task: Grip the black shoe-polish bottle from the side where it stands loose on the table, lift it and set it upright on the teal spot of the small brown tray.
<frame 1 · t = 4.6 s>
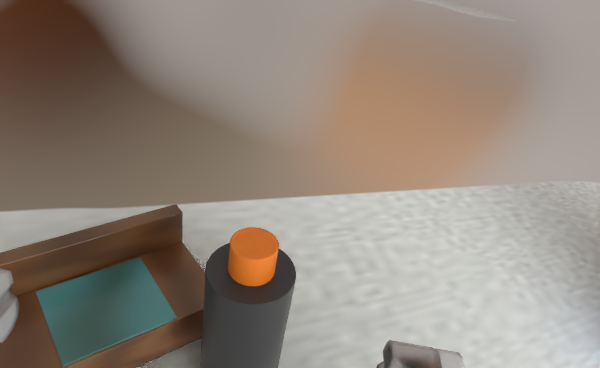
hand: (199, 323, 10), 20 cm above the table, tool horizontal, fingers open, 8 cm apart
brown tray: (106, 328, 33), on the table
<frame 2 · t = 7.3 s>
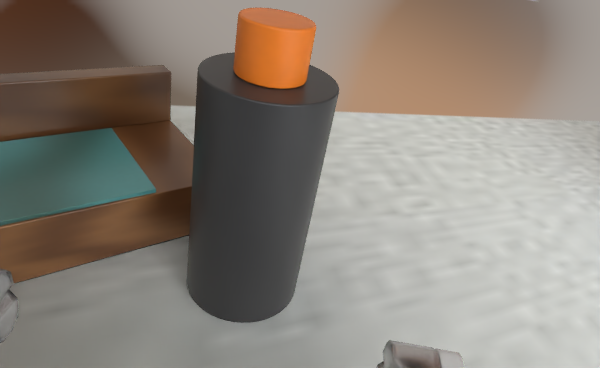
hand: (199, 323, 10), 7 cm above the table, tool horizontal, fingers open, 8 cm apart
polish bottle: (241, 280, 22), on the table
brown tray: (58, 215, 23), on the table
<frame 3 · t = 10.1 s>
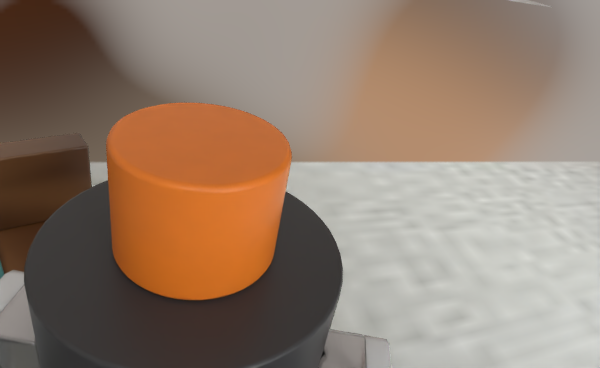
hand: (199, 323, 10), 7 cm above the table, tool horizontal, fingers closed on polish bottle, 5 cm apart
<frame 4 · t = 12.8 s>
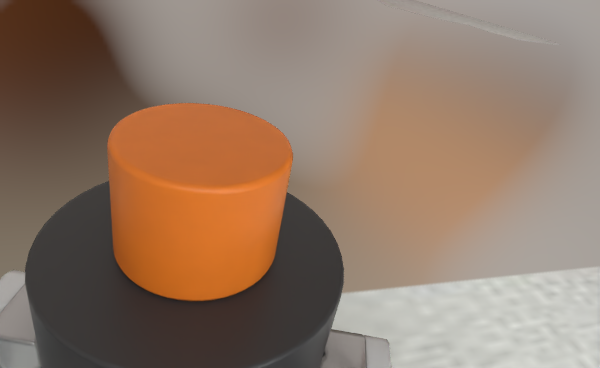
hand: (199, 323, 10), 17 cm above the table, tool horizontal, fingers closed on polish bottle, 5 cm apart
when the fingers open (10 cm above the table, at t = 15.6 s): polish bottle stays where it is, resting on brown tray.
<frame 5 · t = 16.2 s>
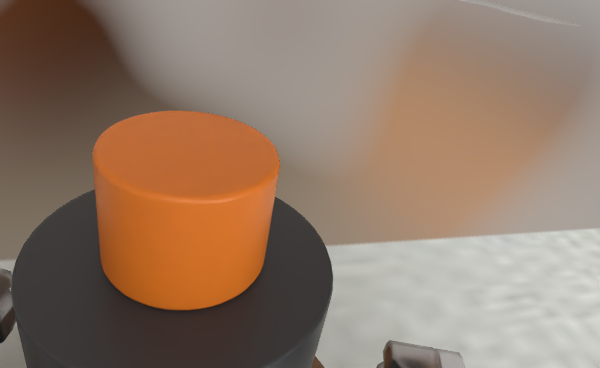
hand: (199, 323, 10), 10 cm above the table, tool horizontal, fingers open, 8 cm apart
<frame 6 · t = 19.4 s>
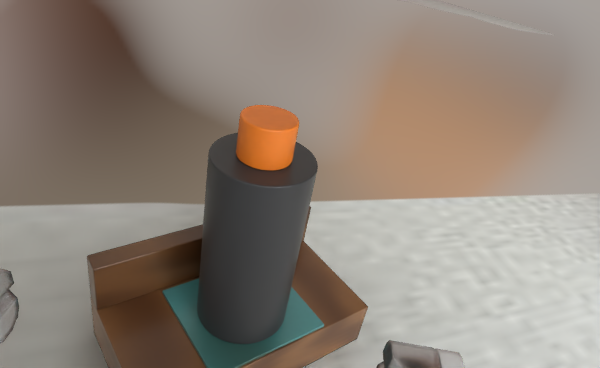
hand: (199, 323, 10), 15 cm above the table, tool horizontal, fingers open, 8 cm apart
polish bottle: (241, 308, 26), point 3 cm above the table, touching brown tray
brown tray: (232, 335, 29), on the table
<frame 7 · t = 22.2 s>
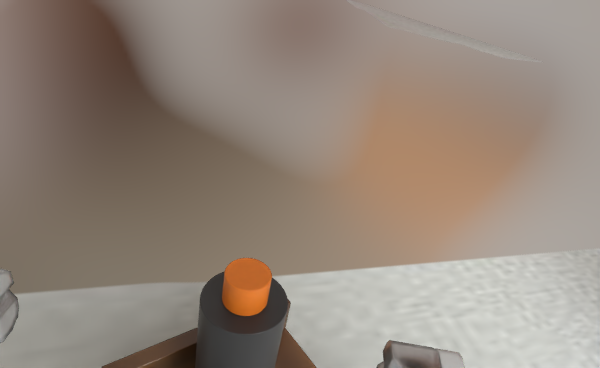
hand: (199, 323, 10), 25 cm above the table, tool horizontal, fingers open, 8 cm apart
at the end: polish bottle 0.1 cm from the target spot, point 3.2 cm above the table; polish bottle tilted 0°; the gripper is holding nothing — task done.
